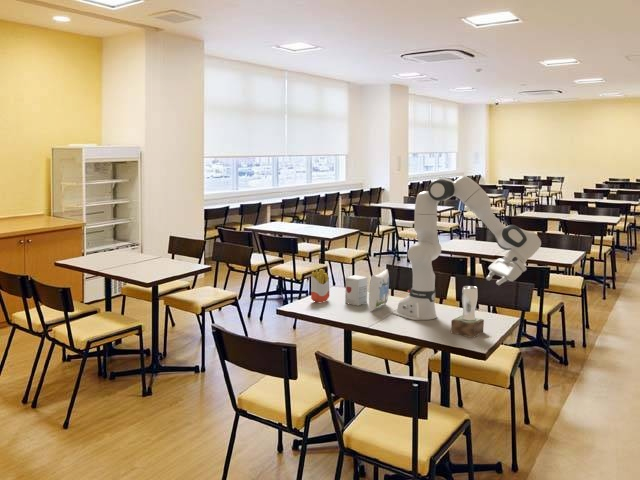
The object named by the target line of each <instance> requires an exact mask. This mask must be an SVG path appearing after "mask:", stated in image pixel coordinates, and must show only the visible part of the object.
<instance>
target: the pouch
mask: <svg viewBox="0 0 640 480" xmlns="http://www.w3.org/2000/svg"><path fill="white" fill-rule="evenodd" d="M389 287H390V276H389V270H388V268H386V269H385V270H383V271H382V272H380V273H378V274H376V275H375V274H372V275H371V276H370V280H369V293H368V304H369V306H368V308H369V311H370V312H373V311H374V310H376V309H377V308H379V307H380V306H381V305H386V304H387V303H388V301H389V300H388V298H389V289H390V288H389Z"/></svg>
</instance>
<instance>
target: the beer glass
mask: <svg viewBox="0 0 640 480" xmlns="http://www.w3.org/2000/svg"><path fill="white" fill-rule="evenodd" d="M461 291H462V292H461V303H462V315H461V316H462V319H463V320H467V321H473V320H475V318H476V308H477V302H478V287H477V286H473V285H464V286H463V287H462V290H461Z"/></svg>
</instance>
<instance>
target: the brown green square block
mask: <svg viewBox="0 0 640 480" xmlns="http://www.w3.org/2000/svg"><path fill="white" fill-rule="evenodd" d="M450 321H451V322H450V323H451V324H450V325H451V326H450V327H451V328H450V333H451V334H455V335H460V336H464V337H468V338H475V337H478V336H479V335H481V334H483V333H484V324H485V319H482V318H479V317H475V320H473V321H467V320H463V319H462V315H459V316H458V317H455V318H453V319H451V320H450Z"/></svg>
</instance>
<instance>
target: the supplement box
mask: <svg viewBox="0 0 640 480" xmlns="http://www.w3.org/2000/svg"><path fill="white" fill-rule="evenodd" d="M368 279H369V278H368V276H361V275H357V274H354V275H351V276H346V277H345V296H344V297H345V299H344V300H345V301H344V304H346V303H349V304H348V305H350V304H354V305H353V306H355V305H360V306H362V305H361V304H363V305H366V304H367V303H368ZM365 303H366V304H365Z"/></svg>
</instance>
